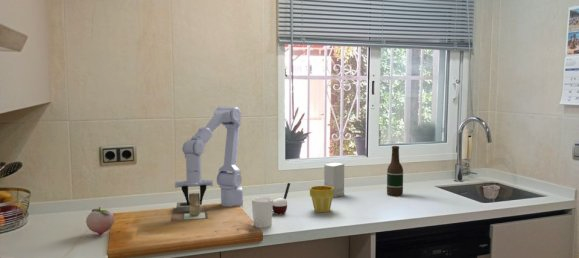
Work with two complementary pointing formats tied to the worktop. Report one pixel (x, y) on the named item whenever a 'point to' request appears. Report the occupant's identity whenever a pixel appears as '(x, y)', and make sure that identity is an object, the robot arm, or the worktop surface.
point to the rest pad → (194, 216)
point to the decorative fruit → (100, 221)
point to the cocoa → (281, 203)
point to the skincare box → (334, 177)
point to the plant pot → (322, 197)
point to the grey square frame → (182, 207)
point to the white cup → (262, 212)
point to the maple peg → (194, 204)
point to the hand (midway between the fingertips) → (194, 204)
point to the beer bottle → (395, 175)
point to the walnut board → (180, 216)
